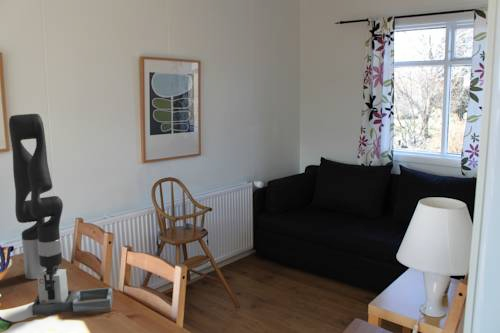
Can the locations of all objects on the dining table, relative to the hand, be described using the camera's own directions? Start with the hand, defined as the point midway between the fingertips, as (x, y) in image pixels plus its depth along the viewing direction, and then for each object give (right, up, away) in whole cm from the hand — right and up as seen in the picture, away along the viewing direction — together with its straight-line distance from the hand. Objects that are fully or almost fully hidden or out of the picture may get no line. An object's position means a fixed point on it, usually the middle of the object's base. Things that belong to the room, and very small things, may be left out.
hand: (53, 294), depth 163 cm
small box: (0, -5, +1) cm, 5 cm away
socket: (0, -5, +1) cm, 5 cm away
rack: (+14, -4, +1) cm, 15 cm away
